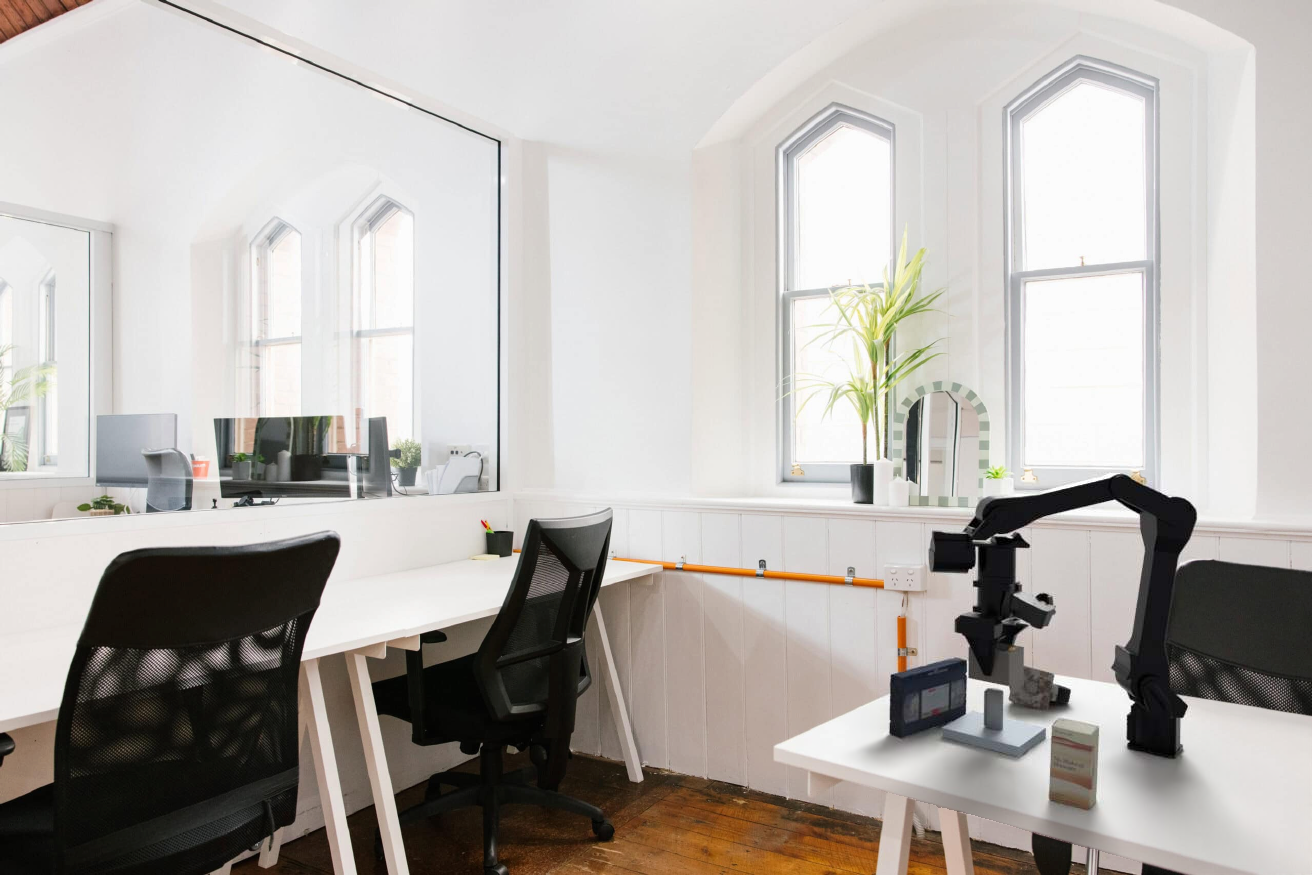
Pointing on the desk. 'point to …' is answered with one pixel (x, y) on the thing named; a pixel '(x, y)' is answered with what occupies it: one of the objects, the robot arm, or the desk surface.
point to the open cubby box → (1000, 665)
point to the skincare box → (1074, 763)
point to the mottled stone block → (1038, 689)
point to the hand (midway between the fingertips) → (995, 671)
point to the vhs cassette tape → (927, 697)
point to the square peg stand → (994, 728)
